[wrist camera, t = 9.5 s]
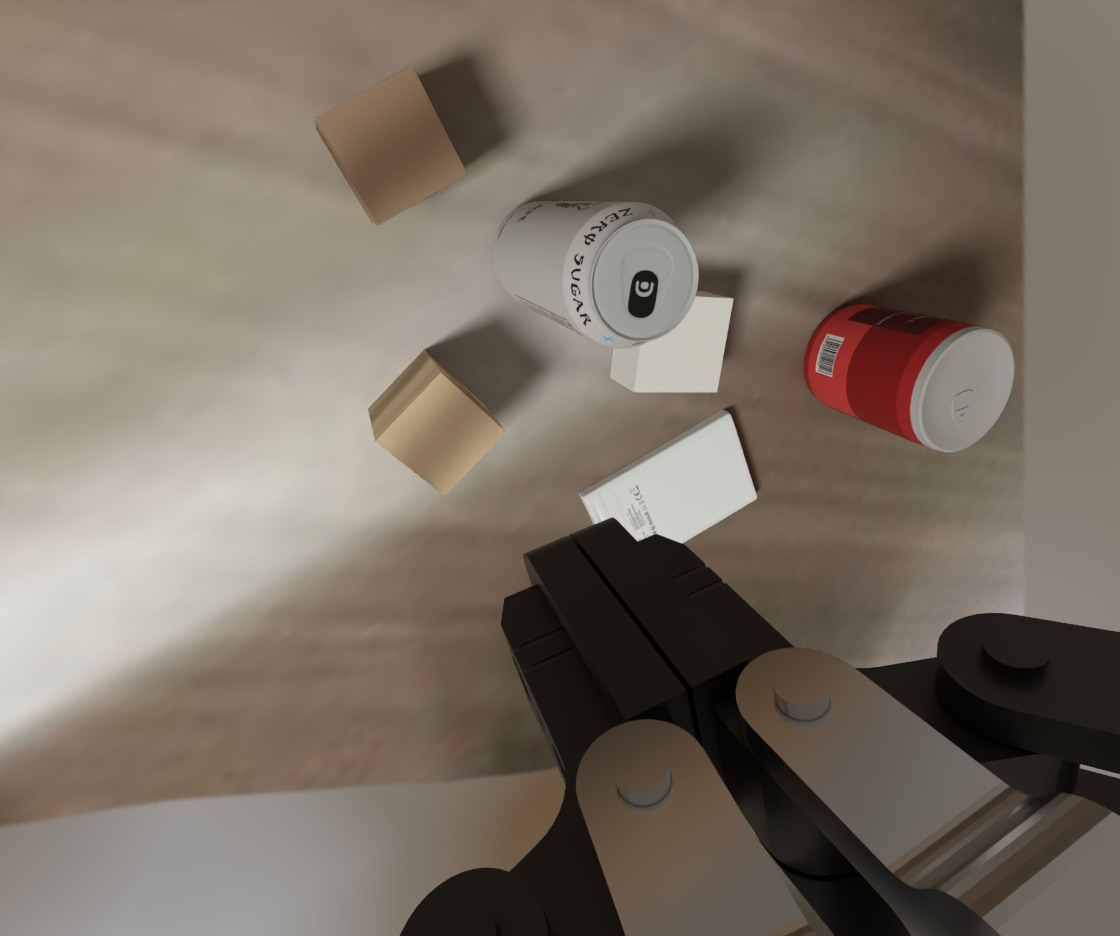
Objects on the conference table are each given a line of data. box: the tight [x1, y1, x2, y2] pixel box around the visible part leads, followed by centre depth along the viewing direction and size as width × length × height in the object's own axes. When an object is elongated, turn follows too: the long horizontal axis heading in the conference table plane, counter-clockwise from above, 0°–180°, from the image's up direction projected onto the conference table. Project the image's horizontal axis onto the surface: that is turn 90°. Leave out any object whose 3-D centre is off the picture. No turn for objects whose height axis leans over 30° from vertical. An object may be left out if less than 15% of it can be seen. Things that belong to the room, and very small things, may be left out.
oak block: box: [368, 350, 506, 496], centre depth 38 cm, size 5×5×6 cm
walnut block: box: [316, 66, 467, 225], centre depth 32 cm, size 5×5×5 cm
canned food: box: [804, 304, 1015, 452], centre depth 45 cm, size 8×8×11 cm
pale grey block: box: [610, 291, 734, 392], centre depth 42 cm, size 6×6×4 cm
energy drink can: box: [492, 201, 699, 349], centre depth 33 cm, size 6×6×15 cm
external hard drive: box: [579, 410, 757, 543], centre depth 49 cm, size 2×8×12 cm
